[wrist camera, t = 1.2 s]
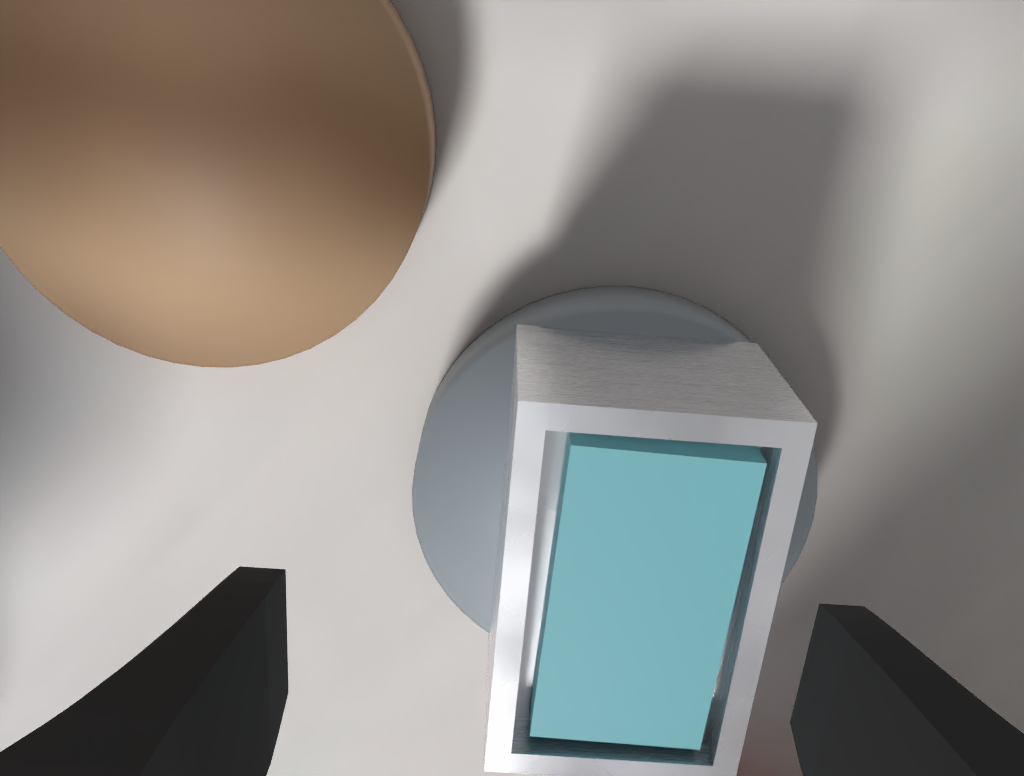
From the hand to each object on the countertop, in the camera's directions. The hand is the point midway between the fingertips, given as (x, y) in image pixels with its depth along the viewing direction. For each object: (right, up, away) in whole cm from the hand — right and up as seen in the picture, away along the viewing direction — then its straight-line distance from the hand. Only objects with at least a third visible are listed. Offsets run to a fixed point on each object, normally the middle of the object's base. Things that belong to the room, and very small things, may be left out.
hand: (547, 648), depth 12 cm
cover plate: (+2, 0, +5) cm, 6 cm away
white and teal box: (+2, +1, +8) cm, 8 cm away
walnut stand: (-7, +9, +7) cm, 13 cm away
